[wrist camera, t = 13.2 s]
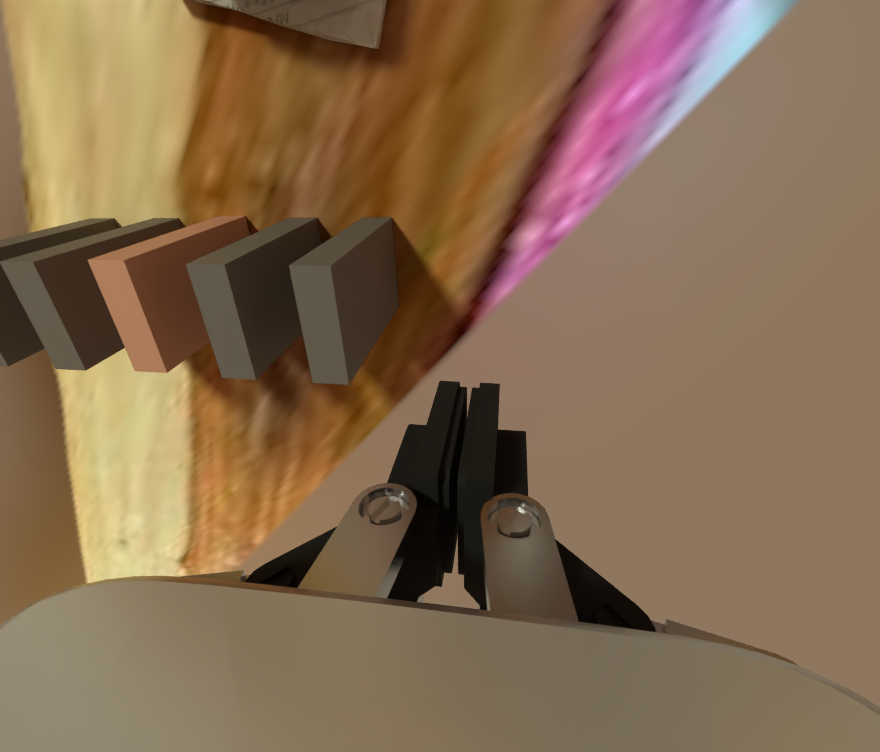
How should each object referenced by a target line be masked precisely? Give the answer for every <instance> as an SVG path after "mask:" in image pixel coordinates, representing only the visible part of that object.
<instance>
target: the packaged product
mask: <svg viewBox="0 0 880 752" xmlns="http://www.w3.org/2000/svg"><path fill="white" fill-rule="evenodd" d="M193 1H196V2H199V3H203V4H208V5H213V6H218V7H223V8H227V9H232V10H237V11H240V12H243V13H246V14H249V15H251V16H254V17H257V18H260V19H263V20H265V21H268V22H271V23H274V24H276V25H280V26H283V27H287V28H290V29H293V30H297V31H300V32H304V33H307V34H310V35H314V36H317V37H321V38H324V39H327V40H331V41H336V42H342V43H348V44H354V45H360V46H365V47H370V48H375V49H379V44H380V38H381V32H382V26H383V20H384V14H385V8H386V2H387V0H193Z"/></svg>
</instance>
